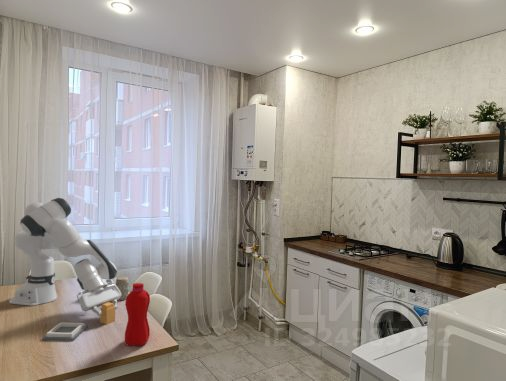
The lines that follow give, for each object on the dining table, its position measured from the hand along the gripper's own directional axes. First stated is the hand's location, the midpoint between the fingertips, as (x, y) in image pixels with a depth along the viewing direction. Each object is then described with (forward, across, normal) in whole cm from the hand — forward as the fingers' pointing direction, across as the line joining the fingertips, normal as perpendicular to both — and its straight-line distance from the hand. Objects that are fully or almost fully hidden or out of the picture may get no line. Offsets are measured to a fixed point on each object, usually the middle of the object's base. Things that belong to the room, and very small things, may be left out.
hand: (108, 311), depth 163 cm
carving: (-10, +24, +17) cm, 31 cm away
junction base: (0, -18, +7) cm, 19 cm away
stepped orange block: (+3, 0, +4) cm, 5 cm away
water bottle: (+22, -6, -14) cm, 27 cm away
